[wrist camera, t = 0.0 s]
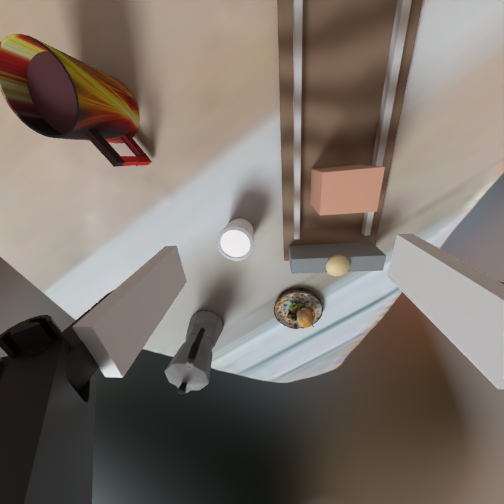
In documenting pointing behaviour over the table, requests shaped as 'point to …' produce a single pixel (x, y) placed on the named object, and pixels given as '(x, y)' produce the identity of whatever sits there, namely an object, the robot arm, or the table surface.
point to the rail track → (339, 103)
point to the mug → (68, 98)
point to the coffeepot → (195, 353)
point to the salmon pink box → (346, 189)
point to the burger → (298, 308)
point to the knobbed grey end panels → (336, 258)
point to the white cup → (236, 240)
